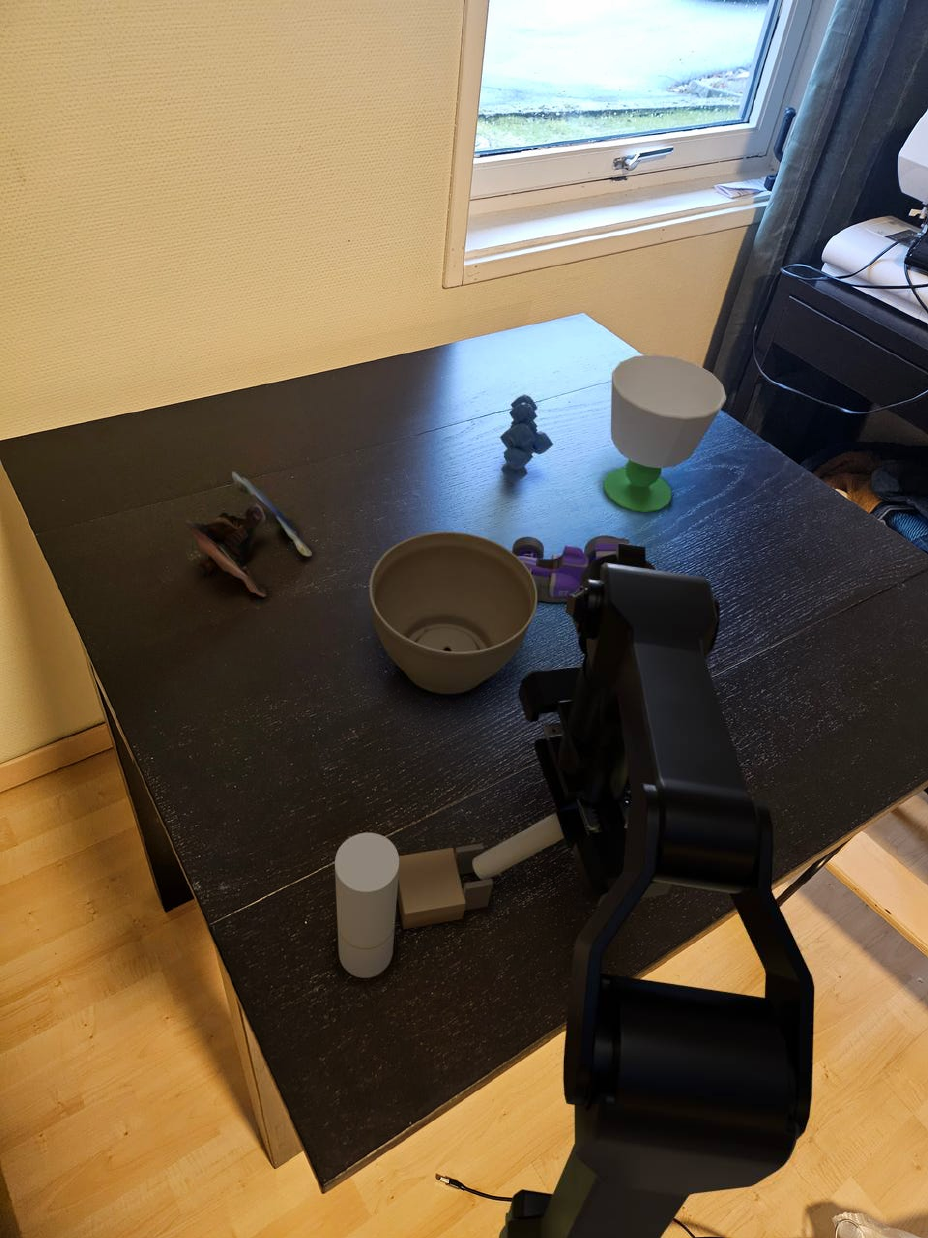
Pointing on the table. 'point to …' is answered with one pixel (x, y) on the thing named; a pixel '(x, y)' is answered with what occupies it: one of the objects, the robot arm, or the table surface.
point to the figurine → (238, 537)
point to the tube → (366, 903)
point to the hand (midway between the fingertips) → (571, 831)
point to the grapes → (522, 439)
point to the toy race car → (561, 564)
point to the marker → (520, 846)
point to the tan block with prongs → (439, 886)
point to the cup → (657, 424)
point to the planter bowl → (451, 608)
